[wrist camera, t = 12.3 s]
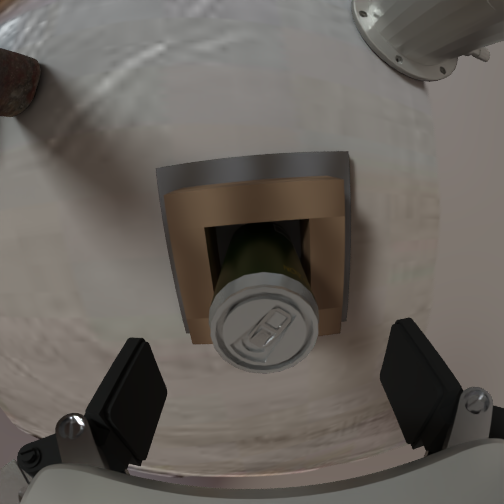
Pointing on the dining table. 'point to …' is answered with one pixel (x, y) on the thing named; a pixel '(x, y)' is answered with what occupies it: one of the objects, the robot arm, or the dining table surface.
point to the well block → (252, 211)
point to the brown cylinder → (17, 82)
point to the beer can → (263, 302)
